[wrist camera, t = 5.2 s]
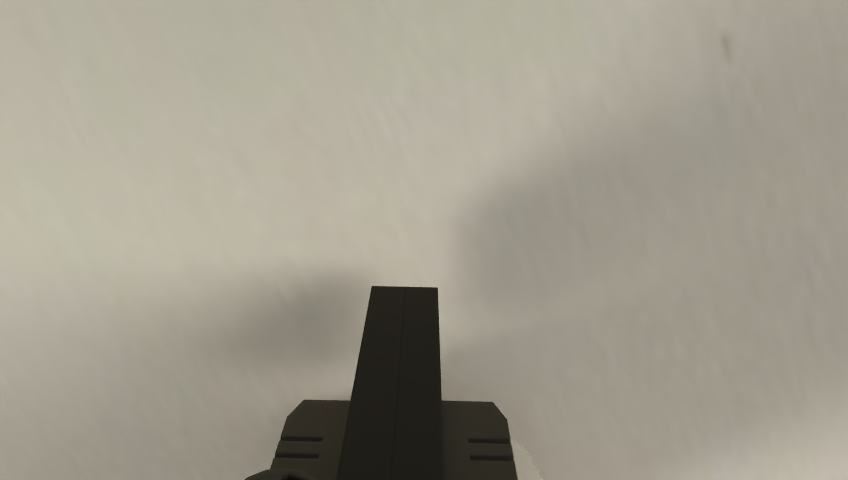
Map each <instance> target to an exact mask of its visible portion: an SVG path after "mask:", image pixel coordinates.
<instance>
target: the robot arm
mask: <svg viewBox="0 0 848 480" xmlns="http://www.w3.org/2000/svg"><path fill="white" fill-rule="evenodd" d="M245 480H518V477H517V472H516V466H515V461H514V455H513V450H512V445H511V439H510V434H509V428H508V423H507V419H506V418H505V417H504V415H503V414H502V413H501V412H500V410H499V409H498V408H497V407H496V406H495V404H494V403H493V402H472V401H442V398H441V369H440V340H439V311H438V288H433V287H387V286H372V288H371V294H370V299H369V305H368V310H367V315H366V321H365V326H364V331H363V337H362V342H361V347H360V353H359V358H358V364H357V369H356V374H355V380H354V385H353V390H352V396H351V401H338V400H303V401H302V402H301V403H300V404H299V405H298V406H297V407H296V408H295V409H294V410H293V411H292V412H291V413H290V414H289V415H288V417H287V419H286V422H285V425H284V428H283V431H282V434H281V440H280V441H279V443H278V446H277V450H276V453H275V458H274V459H273V462H272V465H271V468H270V470H265V471H263V472H260V473H257V474H255V475H252V476H250V477H248V478H246V479H245Z"/></svg>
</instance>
